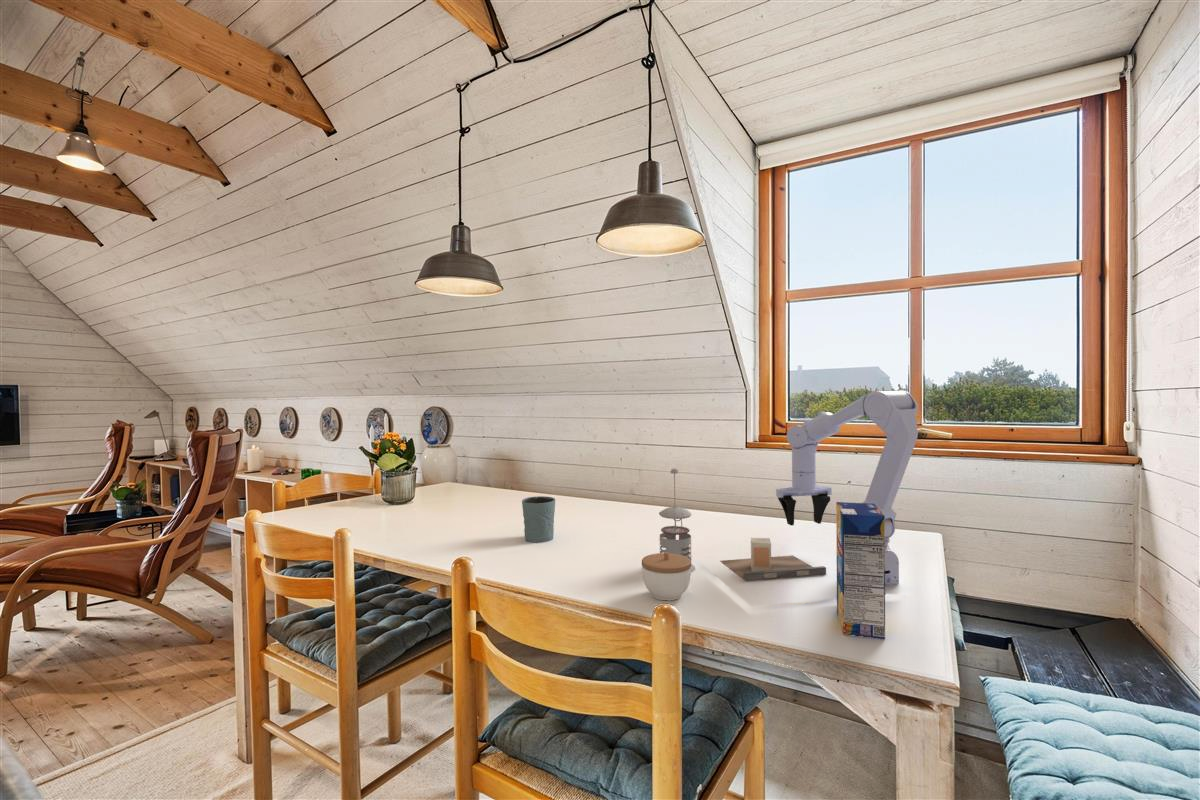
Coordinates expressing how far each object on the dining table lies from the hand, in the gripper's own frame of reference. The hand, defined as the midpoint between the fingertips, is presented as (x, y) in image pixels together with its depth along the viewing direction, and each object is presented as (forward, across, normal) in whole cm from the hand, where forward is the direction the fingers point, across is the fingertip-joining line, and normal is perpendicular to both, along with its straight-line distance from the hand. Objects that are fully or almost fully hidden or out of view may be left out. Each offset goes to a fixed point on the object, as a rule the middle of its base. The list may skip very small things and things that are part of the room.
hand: (804, 523), depth 144 cm
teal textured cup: (+10, +66, -36) cm, 76 cm away
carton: (+8, +16, +8) cm, 20 cm away
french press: (+10, +34, -2) cm, 35 cm away
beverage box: (+10, +11, +38) cm, 41 cm away
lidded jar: (+10, +42, +16) cm, 46 cm away
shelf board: (+9, +13, +7) cm, 18 cm away
